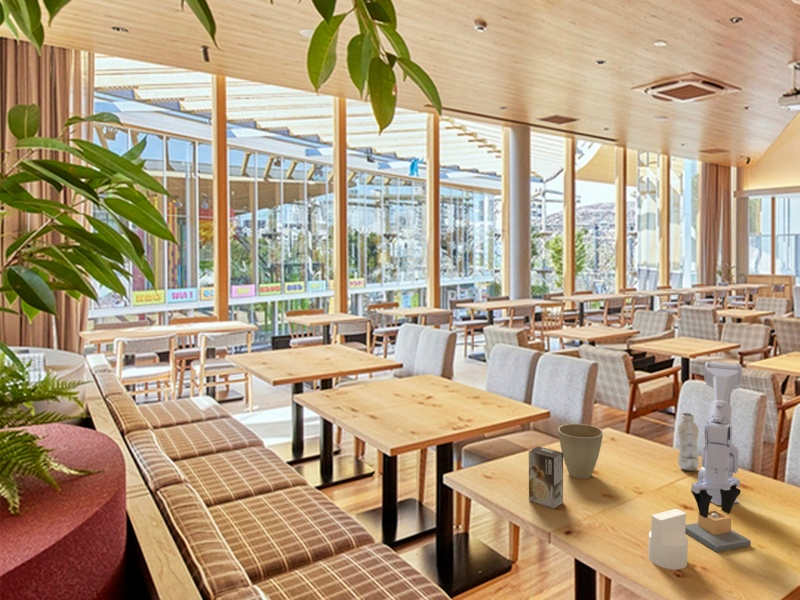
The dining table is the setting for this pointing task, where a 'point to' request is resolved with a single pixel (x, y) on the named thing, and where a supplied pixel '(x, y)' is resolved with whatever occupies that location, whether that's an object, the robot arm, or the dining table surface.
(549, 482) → the coffee box
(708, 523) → the orange loop
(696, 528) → the hook board
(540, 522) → the dining table surface
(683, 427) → the plastic bottle
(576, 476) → the plant pot
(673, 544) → the cylinder with rectangular tab
